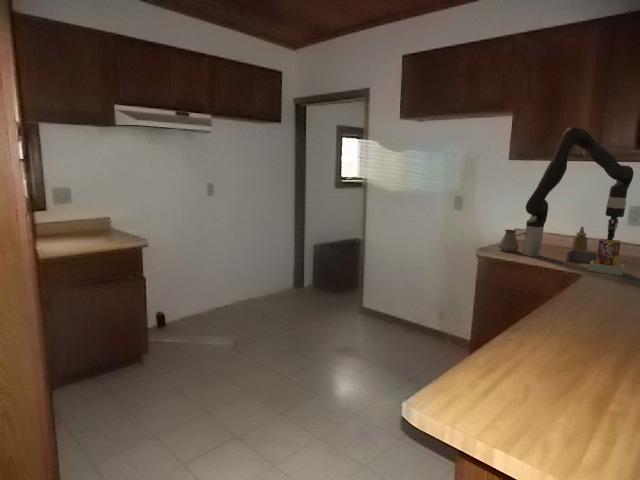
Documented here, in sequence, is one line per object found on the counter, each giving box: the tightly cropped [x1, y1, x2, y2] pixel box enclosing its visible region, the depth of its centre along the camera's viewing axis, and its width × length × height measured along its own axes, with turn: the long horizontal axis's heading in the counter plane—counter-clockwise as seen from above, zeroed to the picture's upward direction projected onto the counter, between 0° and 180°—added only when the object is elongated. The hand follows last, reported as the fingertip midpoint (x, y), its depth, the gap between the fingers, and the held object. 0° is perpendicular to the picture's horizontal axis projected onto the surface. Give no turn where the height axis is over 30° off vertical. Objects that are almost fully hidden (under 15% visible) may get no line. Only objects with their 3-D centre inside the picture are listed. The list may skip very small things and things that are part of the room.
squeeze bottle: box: [570, 226, 588, 251], centre depth 248 cm, size 8×8×18 cm
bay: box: [566, 248, 598, 264], centre depth 234 cm, size 14×8×6 cm, turn 52°
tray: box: [588, 260, 625, 276], centre depth 215 cm, size 14×9×4 cm, turn 52°
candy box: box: [596, 238, 622, 267], centre depth 214 cm, size 9×4×15 cm, turn 52°
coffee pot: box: [498, 229, 526, 253], centre depth 258 cm, size 21×12×15 cm, turn 61°
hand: (610, 239), depth 212 cm, fingers open, 8 cm apart
